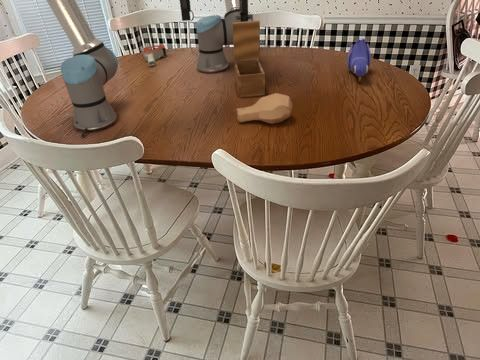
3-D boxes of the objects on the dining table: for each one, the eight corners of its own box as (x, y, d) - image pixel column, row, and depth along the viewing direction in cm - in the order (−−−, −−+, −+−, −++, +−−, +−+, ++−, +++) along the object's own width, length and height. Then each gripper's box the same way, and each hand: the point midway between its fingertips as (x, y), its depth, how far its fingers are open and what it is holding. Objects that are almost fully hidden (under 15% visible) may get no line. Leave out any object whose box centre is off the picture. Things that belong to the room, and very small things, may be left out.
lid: (259, 21, 139) (256, 10, 144) (232, 23, 139) (230, 12, 144) (258, 59, 153) (255, 48, 158) (234, 61, 153) (232, 50, 158)
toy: (345, 75, 169) (348, 84, 147) (347, 38, 162) (351, 41, 140) (367, 75, 167) (373, 84, 145) (370, 36, 160) (377, 40, 138)
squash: (296, 124, 124) (294, 103, 117) (239, 134, 126) (235, 113, 119) (291, 106, 131) (289, 85, 125) (238, 116, 133) (233, 96, 127)
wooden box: (265, 95, 146) (264, 73, 140) (239, 97, 145) (238, 76, 140) (259, 80, 159) (258, 60, 154) (235, 82, 159) (234, 62, 153)
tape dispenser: (152, 70, 182) (177, 56, 195) (150, 60, 179) (175, 46, 191) (127, 64, 190) (153, 51, 202) (125, 54, 186) (151, 41, 199)
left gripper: (190, -58, 99) (198, 23, 111) (190, -62, 119) (197, 8, 131) (163, -57, 98) (174, 25, 111) (168, -60, 118) (177, 9, 131)
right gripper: (254, -35, 129) (255, 33, 143) (249, -38, 141) (251, 25, 154) (233, -33, 128) (237, 35, 142) (230, -37, 140) (234, 26, 154)
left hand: (186, 16), depth 121 cm, fingers open, 13 cm apart
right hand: (244, 29), depth 148 cm, fingers closed on lid, 2 cm apart
